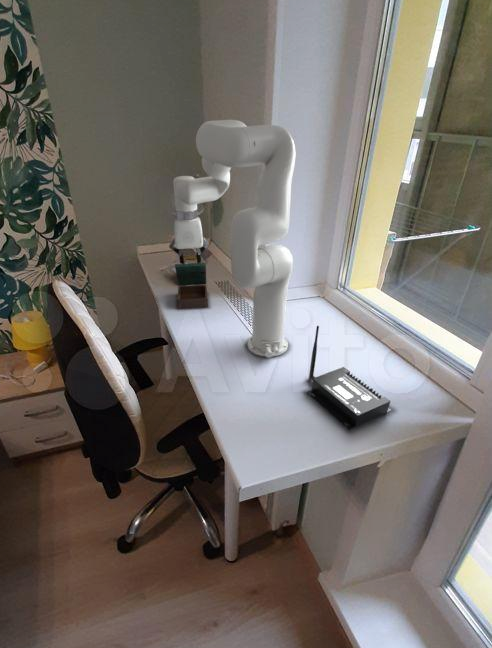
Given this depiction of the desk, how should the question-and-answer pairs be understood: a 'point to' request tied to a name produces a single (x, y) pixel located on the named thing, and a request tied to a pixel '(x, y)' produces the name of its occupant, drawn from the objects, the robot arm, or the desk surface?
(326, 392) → the wireless controller
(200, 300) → the drawer box
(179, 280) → the panel with handle
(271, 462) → the desk surface
